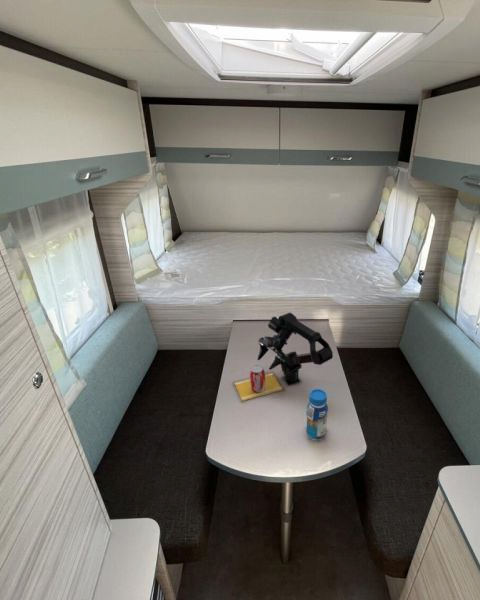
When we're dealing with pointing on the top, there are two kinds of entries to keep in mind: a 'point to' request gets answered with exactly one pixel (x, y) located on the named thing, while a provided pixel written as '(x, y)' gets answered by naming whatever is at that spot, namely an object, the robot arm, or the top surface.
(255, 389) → the soda can
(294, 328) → the robot arm
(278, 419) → the top surface
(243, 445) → the top surface
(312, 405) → the beverage bottle
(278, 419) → the top surface
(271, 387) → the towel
